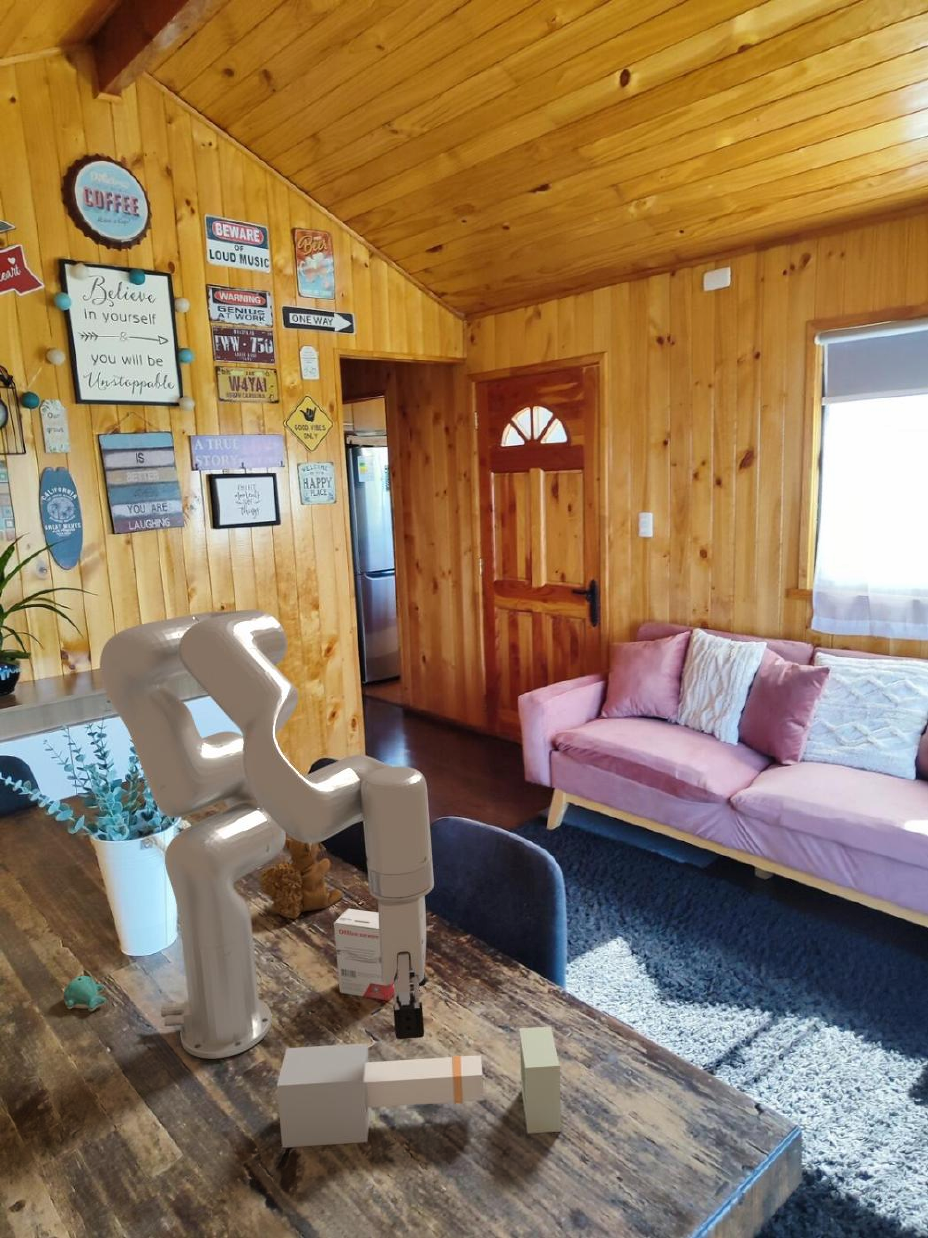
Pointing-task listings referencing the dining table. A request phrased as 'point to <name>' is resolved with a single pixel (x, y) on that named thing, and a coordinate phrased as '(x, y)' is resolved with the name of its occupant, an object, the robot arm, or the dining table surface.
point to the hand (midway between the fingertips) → (411, 1010)
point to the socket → (540, 1080)
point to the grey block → (323, 1095)
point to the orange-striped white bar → (423, 1081)
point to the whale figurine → (83, 994)
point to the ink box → (360, 955)
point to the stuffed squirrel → (299, 881)
